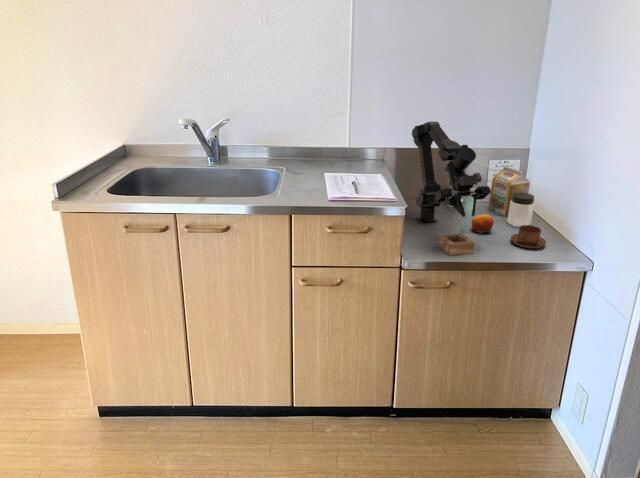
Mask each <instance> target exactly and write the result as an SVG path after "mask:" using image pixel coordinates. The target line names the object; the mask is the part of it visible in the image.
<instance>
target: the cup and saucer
mask: <svg viewBox="0 0 640 478" xmlns="http://www.w3.org/2000/svg"><path fill="white" fill-rule="evenodd" d="M541 232H542V229H541V228H539V226H538V227H537V226H535V225H523V226H520V227H518V233H514V234H512V235H511V236H510V240H511V242H512V243H513V244H515V245H516V246H519V247H521V248H526V249H539V248H543V247H544V246H546V244H547V241H546V240H545V238H543V237H541Z"/></svg>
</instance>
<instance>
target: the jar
mask: <svg viewBox="0 0 640 478" xmlns="http://www.w3.org/2000/svg"><path fill="white" fill-rule="evenodd" d="M534 207H535V196H534V195H533V194H530V193H529V192H528V193H514V194H513V195H512V200H511V201H510V207H509V213H508V217H507V219H506V220H507V221H506V222H507V224H509V225H511V226H512V227H515V228H517V227H518V228H519V227H520V226H523V225H530V226H532V225H531V224H532V217H533V213H534Z"/></svg>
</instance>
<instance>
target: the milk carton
mask: <svg viewBox="0 0 640 478" xmlns="http://www.w3.org/2000/svg"><path fill="white" fill-rule="evenodd" d="M491 180H492V181H491V187H490V190H491V193H490V194H489V201H488V208H487V209H488V211H491V212H493V213H495V214H497V215H499V216H501V217H503V218H508V213H509V207H510V201H511V200H512V195H513V194H514V193H528V194H529V191H530V186H531V182H530V180H529V179H528V178H526V176H524V175H523V172H522V171H521V170H517V169H515V168H511V167H508V166H507V165H506V166H505V165H504V166H503V169H502V170H500V171H499V172H498V173H497V174H496V173H495V175H494V176H493V177H492V179H491Z"/></svg>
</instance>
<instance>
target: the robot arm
mask: <svg viewBox="0 0 640 478" xmlns="http://www.w3.org/2000/svg"><path fill="white" fill-rule="evenodd" d="M411 136H412V138H413V139H412V140H413V143H414V144H415V146H416V147H417V148H418V152H419V154H418V155H419V160H420V170H421V171H420V172H421V177H422V178H421V179H422V184H421V186H420V189H419V195H418V196H417V198H415V205H416V206H417V207H418V208H420V209H419V216H416V217H415V218H416V219H417V220H418V221H420V222H421V223H423V224H425V223H434V222H438V220H437V219H436V218H435V213H436V212H435V210H436V207H439V208H440V206H441V204H442V203H444V202H445V201H446V199H447V200H448V201H447V202H446V203H447V205H448V204H449V205H450V206H451V207H453V208H454V209H455V210H456V211H457V212H458V214H459V215H460V216H461V218H462V217H464V216H465V212H464V209H463V203H462V197H466V196H468V195H471V196H472V197H473V198H474V203H473V210H472V217H475V215H476V214H475V213H476V204H477V201H478V200H479V201H480V200H484V199H486V198H487V197H488V196H490V194H491V187H490V186H489V185H478V183H481V182H482V180H483V179H482V175H481V172H475V173H472V175H471V174H470V175H469V174H468V173H466V171H465V170H466V169H467V168H469V167H470V166H471V164H472V163H473V162H474V161H475V159H476V158H477V153H476V151H475V150H473V148H470V147H469V145H468V144H462V145H461V144H459V143H458V141H456V140H455V141H454V140H451V139H450V138H449V136H448V135H447V133H446V132H445V131H444V130H443V128H442V127H441V124H440V123H439V122H438V121H427V122H424V123H423V124H420V125H415V126H414V127H413V129H412V130H411ZM433 142H434V143H435V145H436V146H437V147H438V155H439V158H440V159H441V161H443V162H448V163H447V164H446V166H445V168H444V172H447V174H448V177H449V182H448V185H449V186H451V187H450V188H449V187H447V188H446V187H445V188H441V187H442V186H441V184H439V183H437V181H436V177H435V167H434V161H433V152H432V144H433ZM474 185H476V186H477V185H478V186H477V187H476V188H475V189H473V188H474Z"/></svg>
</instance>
